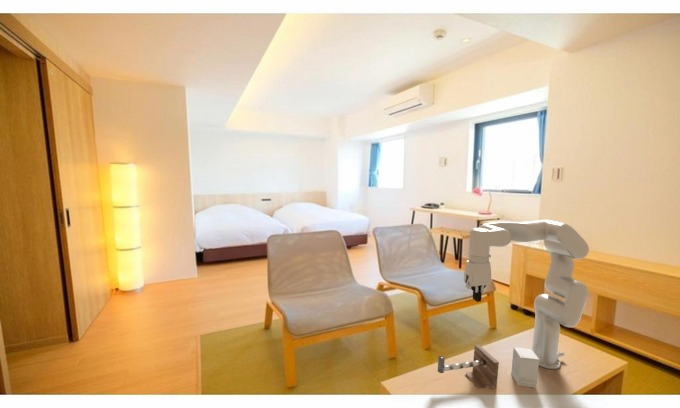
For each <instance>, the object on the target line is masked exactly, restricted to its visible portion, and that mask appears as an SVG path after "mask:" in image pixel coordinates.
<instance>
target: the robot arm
mask: <svg viewBox="0 0 680 408" xmlns="http://www.w3.org/2000/svg"><path fill="white" fill-rule="evenodd" d="M512 241H514V242H520V243H529V242H536V241H537V242H538V241H543V244H544V247H545V249H546V250H547V251H548V254H549V257H550V265H549V268H548V271H547V274H546V277H545V282H544V288H545V289H546V290H547V291H548V292H549V293H551V294H553V295H551V294H547V293H540V294H538V295H537V296H536V297H535V299H534V303H533V307H534V315H535V316H534V317H535V318H534V319H535V320H534V328H533V329H534V330H533V338H532V345H531V346H532V347H531V349H532V350H533V352H534V353H535V354H536V356H537V357H538V358H539V367H542V368H545V369H548V370H549V369H550V370H556V369H560V367H561V361H560V360H559V359H560V357H565V352H564V351H559V350H558V349H559V342H560V334H561V326H560V325H562V326H564V327H566V328H575V327H576V326H577V325H578V324H579V323H580V321H581V318H582V315H583V312H584V310H585V307H586V303H587V301H588V300H587V299H588V297H589V291H588V290H589V289H588V287H587V285H586V284H585V283H584V282H582V281H580V280H578V279H575V278H573V273H574V269H575V263H574V260H582V259H584V258H586V256H588V254H589V250H590V248H589V245H588V242H587V241H586V240H585V239H584V238H583V237H582V235H580V234H579V232H578V231H576V230H575V228H573V226H571V225H570V224H567V223H565V222H562V221H561V222H560V221H555V220H550V219H539V220H531V221H521V222H519V221H516V222H515V221H513V222H510V221H508V222H507V221H505V222H504V221H503V222H501V221H498V222H488V223H483V224H481V225H479V226H478V227H474V228H471V229H470V230H469V249H468V259H467V260H466V263H465V267H464V274H463V283H465V288H466V289H469V290H471V291H472V299H473V301H475V302H476V303H479V302H480V303H481V302H482V293H483V292H484V290H485V288H487V287H489V286H491V285H490V284H491V282H492V268H491V267H492V266H491V261H490V258H491V254H490V248H491V247H497V248H502V247H506V246H508V245H509V244H510V243H511V242H512ZM554 295H556V296H558V297H560V298H563V299H564V300H562V299H560V298H557V297H555V296H554Z"/></svg>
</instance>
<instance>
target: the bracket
mask: <svg viewBox="0 0 680 408" xmlns="http://www.w3.org/2000/svg"><path fill="white" fill-rule="evenodd" d="M473 348H474V351H473V361H477V360H482V361H483V363H484V365H481V366H475V367H472V371H467V372H465V375H466V377H467V378H468V379H469V380H470V381H471V382H472V384H473V385H474V386H475V387H476V388H477V389H482V388H489V389H490V390H491V391H495V390H498V389H497V387H498V377H499V368H500V367H499V365H500V363H499V361H498V360H497V359H496V358H495V357H493V355H491V354H490V353H489V352H488V351H487V350H486V349H484V347H482V346H481V344H474V347H473ZM485 361H486V363H485Z"/></svg>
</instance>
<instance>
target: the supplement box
mask: <svg viewBox="0 0 680 408" xmlns="http://www.w3.org/2000/svg"><path fill="white" fill-rule="evenodd" d="M512 352H513V353H512V363H511V372H510V374H511V376H512V377H513V380H514V382H515V383H516V384H517V386H522V387H527V388H537V386H538V378H539V377H538V376H539V367H540V366H539V358H538V357H537V356H536V354H535V353H534V352H533V350H532V348H525V347H515V346H514V347H513V351H512Z"/></svg>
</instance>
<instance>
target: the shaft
mask: <svg viewBox="0 0 680 408" xmlns="http://www.w3.org/2000/svg"><path fill="white" fill-rule="evenodd" d="M445 359H446V358H445V356H443V355H438V358H437V372H438V373H439V374H444V373H445V372H449V371H455V370H460V369H461V370H463V369H467V368H473V367H475V366H481V365H484V363H483V361H482V360H477V361H474V360H472V361H471V360H470V361H465V362H459V363H452V364H446V365H445Z"/></svg>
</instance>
